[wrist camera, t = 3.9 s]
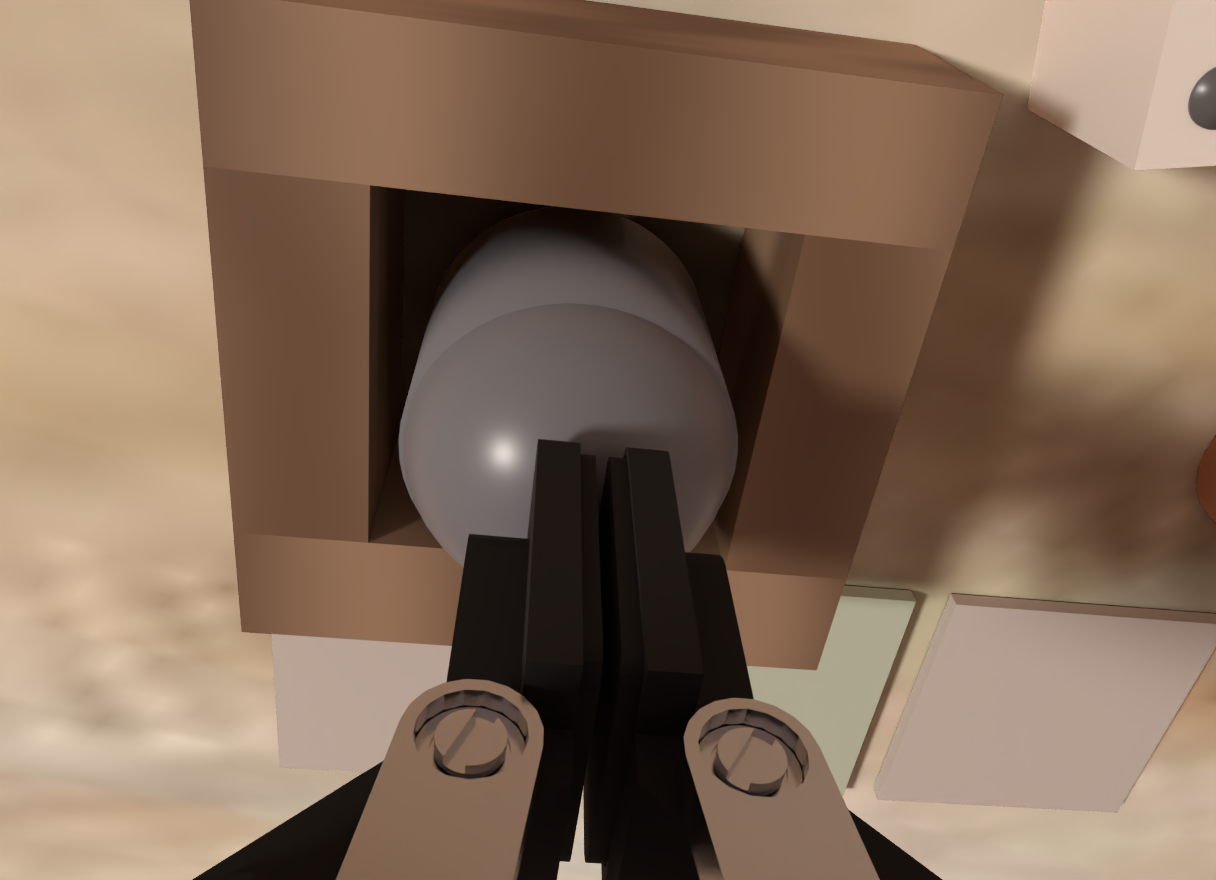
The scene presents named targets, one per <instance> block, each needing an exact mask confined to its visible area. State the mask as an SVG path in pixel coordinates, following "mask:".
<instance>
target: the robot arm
mask: <svg viewBox="0 0 1216 880" xmlns="http://www.w3.org/2000/svg"><path fill="white" fill-rule="evenodd" d="M583 785H584V856H585V862H586V863H601V864H602V880H942V879H941V878H939V877H938V876H937V875H935V874H934V873H933V872H931V871H930V870H929V869H927V868H926V867H925V866H923V865H922V864H921V863H919V862H918V861H917V860H915V859H914V858H913V857H911V856H910V855H909V854H907V853H906V852H905V851H903V850H902V849H900V848H899V847H898V846H896V845H895V844H894V843H892V842H891V841H890V840H888V839H887V838H886V837H884V836H883V835H882V834H880V833H879V832H878V831H876V830H875V829H874V828H872V827H871V826H870V825H868V824H867V823H866V822H864V821H863V820H862V819H860V818H859V817H858V816H856V815H855V814H853V813H852V812H851V811H849V810H848V808H847V806H846V804H845V802H844V800H843V797H842V795H841V793H840V791H839V789H838V786H837V784H836V782H835V780H834V777H833V775H832V773H831V771H830V769H829V766H828V764H827V762H826V760H825V758H824V755H823V753H822V751H821V749H820V747H819V745H818V744H817V742H816V740H815V739H814V737H813V736H812V734H811V733H810V731H809V730H808V729H807V728H806V727H805V726H804V725H803V724H801V723H800V722H799V721H798V720H797V719H796V718H795V717H794V716H792V715H790V714H789V713H787V712H785V711H783V710H781V709H780V708H778V707H776V706H774V705H771V704H768V703H764V702H761V701H758V700H755V699H754V697H753V693H752V688H751V683H750V678H749V674H748V669H747V664H746V660H745V655H744V650H743V645H742V641H741V636H740V631H739V626H738V622H737V617H736V612H735V608H734V603H733V598H732V593H731V589H730V584H729V579H728V574H727V570H726V565H725V562H724V559H723V557H721V556H720V555H714V554H702V553H690V552H685V549H684V543H683V536H682V530H681V524H680V517H679V511H678V505H677V498H676V492H675V486H674V479H673V473H672V467H671V460H670V455H669V452H668V451H662V450H652V449H641V448H630V447H626V449H625V452H624V456H623V458H618V457H609V458H608V462H607V467H606V474H605V480H604V487H603V493H602V500H601V506H600V513H599V520H598V500H597V474H596V456H595V455H586V454H580V443H577V442H567V441H556V440H545V439H538V443H537V452H536V461H535V470H534V479H533V488H532V498H531V507H530V516H529V526H528V535H527V539H525V538H513V537H501V536H489V535H478V534H469V536H468V542H467V548H466V554H465V561H464V568H463V574H462V581H461V588H460V594H459V601H458V608H457V614H456V621H455V628H454V634H453V641H452V648H451V654H450V661H449V668H448V674H447V681H446V682H445V683H442V684H440V685H438V686H435V687H433V688H431V689H428V690H426V691H425V692H423V693H422V694H421V695H420V696H418V697H417V698H416V699H415V700H414V701H412V702H411V703H410V704H409V706H408V707H407V709H406V711H405V712H404V714H403V715H402V717H401V719H400V721H399V723H398V726H397V728H396V731H395V733H394V736H393V738H392V741H391V743H390V746H389V748H388V751H387V753H386V756H385V758H384V760H383V761H382V762H380V763H379V764H377V765H375V766H374V767H372V768H371V769H369V770H367V771H366V772H364V773H363V774H361V775H359V776H358V777H356V778H355V779H353V780H351V781H350V782H348V783H347V784H345V785H343V786H342V787H340V788H339V789H337V790H335V791H334V792H332V793H331V794H329V795H327V796H326V797H324V798H323V799H321V800H319V801H318V802H316V803H314V804H313V805H311V806H310V807H308V808H306V809H305V810H303V811H302V812H300V813H298V814H297V815H295V816H294V817H292V818H290V819H289V820H287V821H286V822H284V823H282V824H281V825H279V826H278V827H276V828H274V829H273V830H271V831H270V832H268V833H266V834H265V835H263V836H262V837H260V838H258V839H257V840H255V841H254V842H252V843H250V844H249V845H247V846H246V847H244V848H242V849H241V850H239V851H238V852H236V853H234V854H233V855H231V856H230V857H228V858H226V859H225V860H223V861H222V862H220V863H218V864H217V865H215V866H214V867H212V868H210V869H209V870H207V871H206V872H204V873H202V874H201V875H199V876H198V877H196V878H194V879H193V880H557V874H558V868H559V862H560V861H566V862H570V859H571V854H572V849H573V843H574V837H575V831H576V825H577V820H578V814H579V808H580V802H581V796H582V791H583Z"/></svg>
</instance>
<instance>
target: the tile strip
mask: <svg viewBox="0 0 1216 880" xmlns="http://www.w3.org/2000/svg"><path fill="white" fill-rule="evenodd" d="M915 603H916V600H915V598H914V596H913V594H912V592H911V591H909V590H896V589H883V588H870V587H857V586H844V588H843V591H842V594H841V597H840V600H839V603H838V606H837V609H836V612H835V616H834V619H833V622H832V625H831V628H830V631H829V634H828V637H827V640H826V643H825V646H824V649H823V653H822V656H821V659H820V662H819V665H818V668H817V670H802V669H787V668H772V667H757V666H747V669H748V674H749V678H750V683H751V688H752V693H753V697H754V699H755V700H758V701H761V702H764V703H768V704H771V705H774V706H776V707H778V708H780V709H781V710H783V711H785V712H787V713H789V714H790V715H792V716H794V717H795V718H796V719H797V720H798V721H799V722H800V723H801V724H803V725H804V726H805V727H806V728H807V729H808V730H809V731H810V733H811V734H812V736H813V737H814V739H815V740H816V742H817V744H818V745H819V747H820V749H821V751H822V753H823V755H824V758H825V760H826V762H827V764H828V766H829V769H830V771H831V773H832V775H833V777H834V780H835V782H836V784H837V786H838V789H839V791H840V793H841V795H842V797H843V795H844V792H845V789H846V787H847V784H848V781H849V779H850V776H851V773H852V771H853V768H854V765H855V763H856V760H857V757H858V755H859V752H860V749H861V747H862V744H863V741H864V739H865V736H866V733H867V731H868V728H869V725H870V723H871V720H872V718H873V715H874V712H875V710H876V707H877V704H878V702H879V699H880V696H881V694H882V691H883V688H884V686H885V683H886V680H887V678H888V675H889V672H890V670H891V667H892V664H893V662H894V659H895V656H896V654H897V651H898V648H899V646H900V643H901V640H902V638H903V635H904V633H905V630H906V627H907V625H908V622H909V619H910V617H911V614H912V611H913V609H914V606H915ZM451 648H452V646H444V645H429V644H414V643H399V642H384V641H369V640H355V639H340V638H325V637H310V636H295V635H280V634H272V650H273V666H274V682H275V698H276V714H277V730H278V746H279V762H280V768H294V769H313V770H332V771H350V772H366V771H367V770H369V769H371V768H372V767H374V766H375V765H377V764H379V763H380V762H382V761H383V760H384V758H385V756H386V753H387V751H388V748H389V746H390V743H391V741H392V738H393V736H394V733H395V731H396V728H397V726H398V723H399V721H400V719H401V717H402V715H403V714H404V712H405V711H406V709H407V707H408V706H409V704H410V703H411V702H412V701H414V700H415V699H416V698H417V697H418V696H420V695H421V694H422V693H423V692H425V691H426V690H428V689H431V688H433V687H435V686H438V685H440V684H442V683H445V682H446V681H447V674H448V668H449V661H450V654H451ZM1215 648H1216V614H1210V613H1197V612H1184V611H1171V610H1158V609H1145V608H1132V607H1119V606H1106V605H1092V604H1079V603H1066V602H1053V601H1040V600H1027V599H1014V598H1001V597H988V596H974V595H961V594H950V597H949V599H948V602H947V604H946V607H945V609H944V612H943V614H942V617H941V619H940V622H939V624H938V627H937V629H936V632H935V635H934V637H933V640H932V642H931V645H930V647H929V650H928V652H927V655H926V657H925V660H924V662H923V665H922V667H921V670H920V672H919V675H918V677H917V680H916V682H915V685H914V687H913V690H912V692H911V695H910V697H909V700H908V702H907V705H906V707H905V710H904V712H903V715H902V717H901V720H900V723H899V725H898V728H897V730H896V733H895V735H894V738H893V740H892V743H891V745H890V748H889V750H888V753H887V755H886V758H885V760H884V763H883V765H882V768H881V770H880V773H879V775H878V778H877V780H876V783H875V785H874V791H875V794H876V797H877V800H891V801H910V802H928V803H947V804H966V805H984V806H1003V807H1022V808H1040V809H1059V810H1077V811H1096V812H1115V813H1117V812H1118V810H1119V808H1120V807H1121V805H1122V803H1123V802H1124V800H1125V798H1126V797H1127V795H1128V793H1129V792H1130V790H1131V788H1132V787H1133V785H1134V783H1135V782H1136V780H1137V778H1138V777H1139V775H1140V773H1141V772H1142V770H1143V768H1144V767H1145V765H1146V763H1147V762H1148V760H1149V758H1150V757H1151V755H1152V753H1153V751H1154V750H1155V748H1156V746H1157V745H1158V743H1159V741H1160V740H1161V738H1162V736H1163V735H1164V733H1165V731H1166V730H1167V728H1168V726H1169V725H1170V723H1171V721H1172V720H1173V718H1174V716H1175V715H1176V713H1177V711H1178V710H1179V708H1180V706H1181V705H1182V703H1183V701H1184V700H1185V698H1186V696H1187V695H1188V693H1189V691H1190V690H1191V688H1192V686H1193V685H1194V683H1195V681H1196V680H1197V678H1198V676H1199V675H1200V673H1201V671H1202V670H1203V668H1204V666H1205V665H1206V663H1207V661H1208V660H1209V658H1210V656H1211V655H1212V653H1213V651H1214V650H1215Z"/></svg>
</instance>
